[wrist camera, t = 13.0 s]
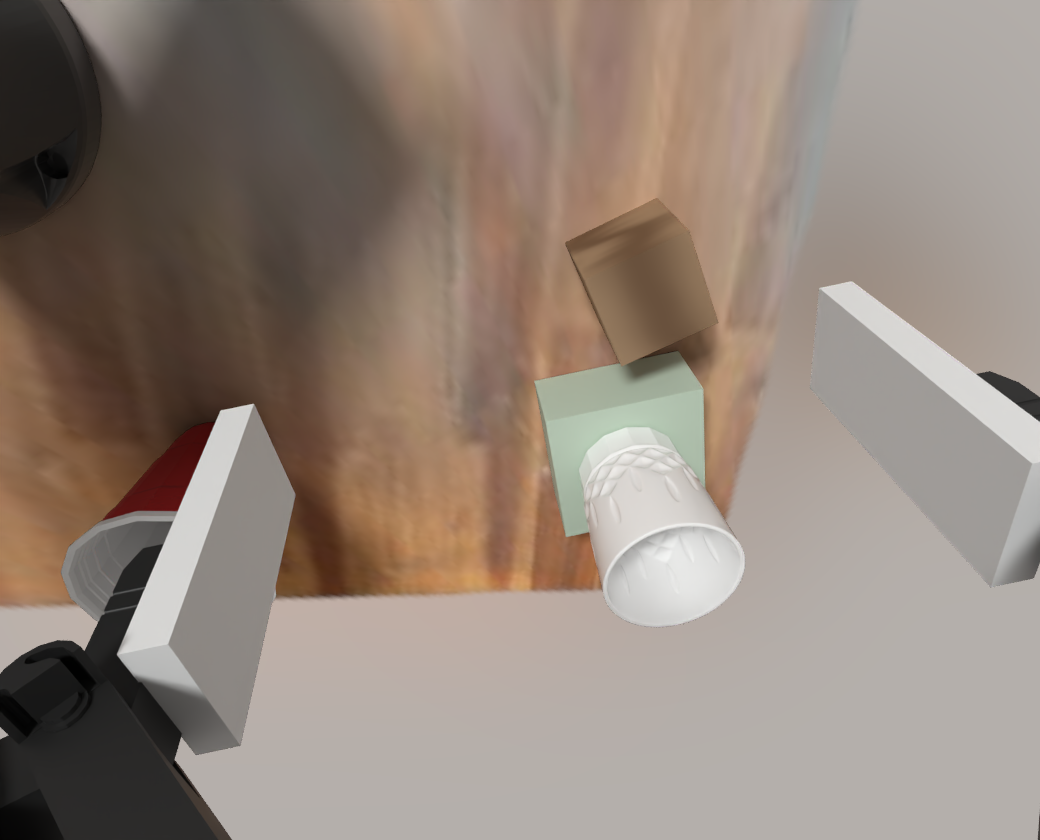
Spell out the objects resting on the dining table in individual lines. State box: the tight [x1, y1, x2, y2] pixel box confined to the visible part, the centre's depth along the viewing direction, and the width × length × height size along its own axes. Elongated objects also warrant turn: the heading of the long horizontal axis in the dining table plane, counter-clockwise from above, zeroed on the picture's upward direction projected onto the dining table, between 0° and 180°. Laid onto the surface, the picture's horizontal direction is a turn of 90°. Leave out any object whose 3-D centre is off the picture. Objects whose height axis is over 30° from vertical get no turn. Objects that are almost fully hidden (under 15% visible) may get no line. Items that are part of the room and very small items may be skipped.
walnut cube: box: [565, 198, 718, 367], centre depth 41 cm, size 6×6×6 cm
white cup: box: [579, 427, 745, 627], centre depth 42 cm, size 8×8×10 cm
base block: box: [534, 351, 705, 537], centre depth 48 cm, size 10×10×5 cm
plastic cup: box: [61, 422, 276, 622], centre depth 43 cm, size 11×11×12 cm
